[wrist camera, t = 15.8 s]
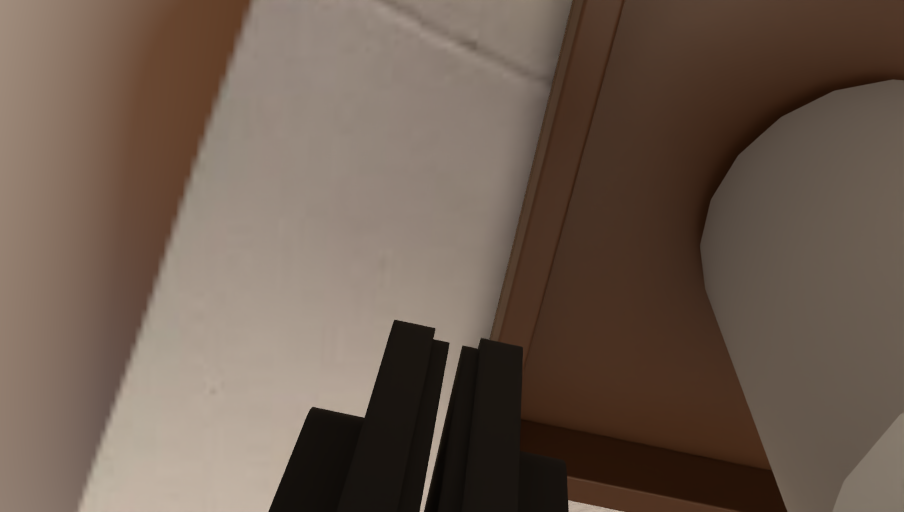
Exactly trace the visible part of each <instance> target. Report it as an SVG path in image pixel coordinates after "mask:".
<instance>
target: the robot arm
mask: <svg viewBox="0 0 904 512" xmlns="http://www.w3.org/2000/svg"><path fill="white" fill-rule="evenodd" d="M434 333H435V328H432V327H427V326H422V325H417V324H413V323H408V322H403V321H398V320H394V322H393V325H392V328H391V332H390V335H389V338H388V342H387V345H386V348H385V352H384V355H383V358H382V362H381V365H380V368H379V372H378V375H377V378H376V382H375V385H374V388H373V392H372V395H371V398H370V402H369V405H368V408H367V412H366V415H365V418H363V417H358V416H353V415H348V414H344V413H339V412H334V411H330V410H325V409H320V408H315V407H312V408H311V409H310V411H309V413H308V415H307V417H306V420H305V422H304V425H303V427H302V430H301V432H300V435H299V437H298V440H297V442H296V445H295V447H294V450H293V452H292V455H291V457H290V460H289V462H288V465H287V467H286V469H285V472H284V474H283V477H282V479H281V482H280V484H279V487H278V489H277V492H276V494H275V497H274V499H273V502H272V504H271V507H270V509H269V512H420V506H421V501H422V495H423V489H424V484H425V478H426V472H427V467H428V461H429V456H430V450H431V444H432V439H433V433H434V427H435V422H436V416H437V411H438V405H439V399H440V394H441V388H442V383H443V377H444V371H445V366H446V360H447V354H448V349H449V343H448V342H444V341H439V340H434V339H433V337H434ZM522 367H523V347H522V346H517V345H512V344H507V343H503V342H498V341H493V340H488V339H484V338H481V340H480V343H479V346H478V349H477V348H472V347H467V346H462V350H461V354H460V358H459V362H458V367H457V371H456V375H455V380H454V384H453V388H452V393H451V397H450V401H449V406H448V410H447V414H446V419H445V423H444V427H443V432H442V436H441V440H440V445H439V449H438V453H437V458H436V462H435V466H434V471H433V475H432V479H431V484H430V488H429V492H428V497H427V501H426V505H425V510H424V512H569V510H568V486H567V469H566V463H565V461H564V460H562V459H557V458H552V457H547V456H543V455H538V454H533V453H529V452H524V451H520V427H521V397H522Z"/></svg>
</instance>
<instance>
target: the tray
mask: <svg viewBox="0 0 904 512" xmlns="http://www.w3.org/2000/svg"><path fill="white" fill-rule="evenodd" d="M892 79H894V80H904V0H573V1H572V5H571V9H570V13H569V17H568V22H567V26H566V30H565V34H564V38H563V42H562V46H561V50H560V54H559V58H558V62H557V66H556V70H555V75H554V79H553V83H552V87H551V91H550V95H549V99H548V103H547V107H546V111H545V115H544V119H543V123H542V128H541V132H540V136H539V140H538V144H537V148H536V152H535V156H534V160H533V164H532V168H531V172H530V176H529V181H528V185H527V189H526V193H525V197H524V201H523V205H522V209H521V213H520V217H519V221H518V225H517V229H516V234H515V238H514V242H513V246H512V250H511V254H510V258H509V262H508V266H507V270H506V274H505V278H504V282H503V287H502V291H501V295H500V299H499V303H498V307H497V311H496V315H495V319H494V323H493V327H492V331H491V335H490V340H493V341H498V342H503V343H507V344H512V345H517V346H522V347H523V367H522V397H521V427H520V451H524V452H529V453H533V454H538V455H543V456H547V457H552V458H557V459H562V460H564V461H565V463H566V469H567V486H568V500H570V501H575V502H580V503H585V504H590V505H594V506H599V507H604V508H609V509H614V510H619V511H624V512H787V509H786V506H785V504H784V501H783V498H782V496H781V493H780V490H779V487H778V485H777V482H776V479H775V477H774V474H773V471H772V469H771V466H770V463H769V460H768V458H767V455H766V452H765V450H764V447H763V444H762V441H761V439H760V436H759V433H758V431H757V428H756V425H755V422H754V420H753V417H752V414H751V412H750V409H749V406H748V404H747V401H746V398H745V395H744V393H743V390H742V387H741V385H740V382H739V379H738V376H737V374H736V371H735V368H734V366H733V363H732V360H731V357H730V355H729V352H728V349H727V347H726V344H725V341H724V339H723V336H722V333H721V330H720V328H719V325H718V322H717V320H716V317H715V314H714V311H713V309H712V306H711V303H710V301H709V298H708V295H707V292H706V290H705V283H704V275H703V267H702V259H701V251H700V243H701V239H702V235H703V231H704V226H705V222H706V218H707V214H708V210H709V205H710V201H711V199H712V197H713V195H714V194H715V192H716V191H717V189H718V187H719V186H720V184H721V182H722V181H723V179H724V178H725V176H726V174H727V173H728V171H729V169H730V168H731V166H732V165H733V163H734V161H735V160H736V158H737V157H738V155H739V154H740V153H741V152H742V151H744V150H745V149H746V148H747V147H748V146H749V145H750V144H751V143H753V142H754V141H755V140H756V139H757V138H758V137H759V136H760V135H761V134H763V133H764V132H765V131H766V130H767V129H768V128H769V127H770V126H772V125H773V124H774V123H775V122H776V121H777V120H778V119H779V118H780V117H782V116H784V115H786V114H788V113H790V112H792V111H794V110H796V109H798V108H800V107H802V106H804V105H806V104H808V103H810V102H812V101H814V100H816V99H818V98H821V97H823V96H825V95H827V94H829V93H831V92H833V91H835V90H841V89H846V88H851V87H856V86H861V85H866V84H872V83H877V82H882V81H887V80H892Z"/></svg>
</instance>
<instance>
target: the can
mask: <svg viewBox="0 0 904 512" xmlns="http://www.w3.org/2000/svg"><path fill="white" fill-rule="evenodd" d="M700 251H701V259H702V267H703V275H704V283H705V290H706V292H707V295H708V298H709V301H710V303H711V306H712V309H713V311H714V314H715V317H716V320H717V322H718V325H719V328H720V330H721V333H722V336H723V339H724V341H725V344H726V347H727V349H728V352H729V355H730V357H731V360H732V363H733V366H734V368H735V371H736V374H737V376H738V379H739V382H740V385H741V387H742V390H743V393H744V395H745V398H746V401H747V404H748V406H749V409H750V412H751V414H752V417H753V420H754V422H755V425H756V428H757V431H758V433H759V436H760V439H761V441H762V444H763V447H764V450H765V452H766V455H767V458H768V460H769V463H770V466H771V469H772V471H773V474H774V477H775V479H776V482H777V485H778V487H779V490H780V493H781V496H782V498H783V501H784V504H785V506H786V509H787V512H904V80H894V79H892V80H887V81H882V82H877V83H872V84H866V85H861V86H856V87H851V88H846V89H841V90H835V91H833V92H831V93H829V94H827V95H825V96H823V97H821V98H818V99H816V100H814V101H812V102H810V103H808V104H806V105H804V106H802V107H800V108H798V109H796V110H794V111H792V112H790V113H788V114H786V115H784V116H782V117H780V118H779V119H778V120H777V121H776V122H775V123H774V124H773V125H772V126H770V127H769V128H768V129H767V130H766V131H765V132H764V133H763V134H761V135H760V136H759V137H758V138H757V139H756V140H755V141H754V142H753V143H751V144H750V145H749V146H748V147H747V148H746V149H745V150H744V151H742V152H741V153H740V154H739V155H738V157H737V158H736V160H735V161H734V163H733V165H732V166H731V168H730V169H729V171H728V173H727V174H726V176H725V178H724V179H723V181H722V182H721V184H720V186H719V187H718V189H717V191H716V192H715V194H714V195H713V197H712V199H711V201H710V205H709V210H708V214H707V218H706V222H705V226H704V231H703V235H702V239H701V243H700Z"/></svg>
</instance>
